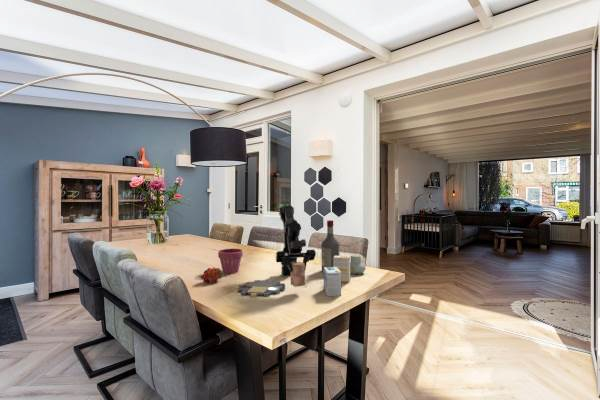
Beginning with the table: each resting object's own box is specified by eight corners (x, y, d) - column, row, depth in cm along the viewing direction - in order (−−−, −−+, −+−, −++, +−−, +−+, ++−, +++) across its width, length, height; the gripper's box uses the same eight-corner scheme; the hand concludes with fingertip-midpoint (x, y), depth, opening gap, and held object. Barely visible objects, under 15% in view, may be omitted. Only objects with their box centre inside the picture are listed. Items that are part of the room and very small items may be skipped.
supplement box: (350, 280, 164) (350, 255, 164) (349, 283, 159) (348, 257, 159) (335, 279, 167) (335, 255, 166) (333, 281, 162) (333, 256, 162)
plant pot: (247, 270, 187) (247, 249, 187) (231, 276, 175) (230, 253, 175) (230, 267, 195) (230, 247, 194) (213, 272, 183) (213, 251, 182)
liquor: (328, 274, 177) (327, 221, 176) (320, 270, 185) (319, 220, 184) (341, 271, 181) (341, 220, 180) (332, 268, 189) (332, 219, 189)
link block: (300, 282, 147) (300, 261, 147) (305, 285, 143) (304, 263, 143) (290, 284, 145) (290, 262, 145) (295, 286, 141) (294, 265, 140)
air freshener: (367, 273, 177) (367, 256, 176) (357, 276, 172) (357, 258, 172) (354, 269, 186) (354, 253, 185) (344, 272, 181) (344, 255, 181)
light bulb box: (323, 289, 150) (323, 266, 150) (337, 288, 151) (336, 266, 151) (327, 296, 140) (326, 272, 139) (341, 295, 140) (341, 272, 140)
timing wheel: (248, 281, 165) (248, 278, 165) (290, 283, 160) (290, 280, 160) (229, 295, 142) (229, 292, 142) (278, 298, 138) (278, 295, 138)
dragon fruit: (224, 283, 167) (202, 290, 160) (218, 271, 172) (197, 278, 165) (226, 273, 162) (203, 280, 155) (219, 261, 167) (197, 268, 160)
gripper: (276, 234, 145) (279, 263, 135) (314, 232, 149) (321, 260, 139) (274, 248, 153) (277, 276, 143) (311, 246, 157) (316, 273, 147)
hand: (298, 271), depth 143 cm, fingers closed on link block, 6 cm apart
